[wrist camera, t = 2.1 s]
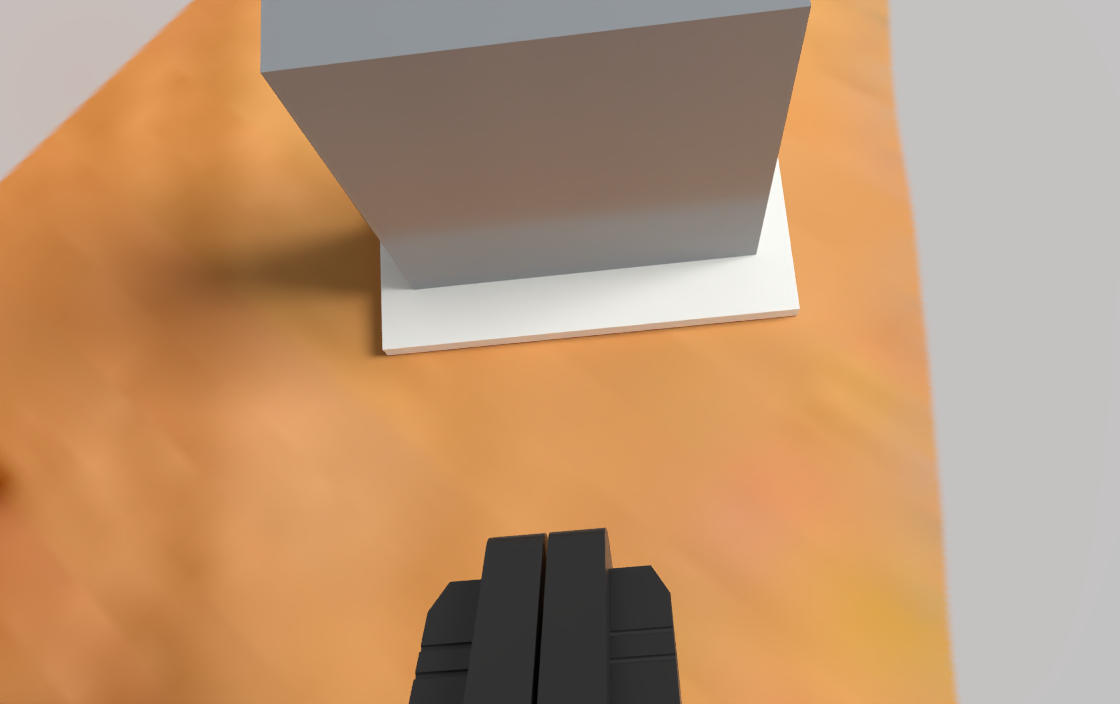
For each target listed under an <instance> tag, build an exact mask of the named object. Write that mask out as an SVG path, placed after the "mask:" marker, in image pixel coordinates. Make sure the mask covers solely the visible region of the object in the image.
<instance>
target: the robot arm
mask: <svg viewBox="0 0 1120 704" xmlns="http://www.w3.org/2000/svg"><path fill="white" fill-rule="evenodd" d="M415 674H416V679H415V680H414V681H413V686H412V691H411V696H410V700H409V704H682V702H681V691H680V680H679V671H678V661H677V652H676V642H675V633H674V624H673V614H672V605H671V595H670V592H669V590H668V589H667V588H666V586H665V585H664V583H663V582H662V581H661V579H660V578H659V576H658V575H657V574H656V572H655V571H654V569H653V568H652V566H651V565H650V566H637V567H625V568H613V567H612V560H611V553H610V545H609V539H608V533H607V529H606V528H597V529H585V530H574V531H562V532H550V533H549V537H547V535H546V533H541V534H529V535H518V536H506V537H494V538H489V539H488V541H487V545H486V552H485V558H484V565H483V572H482V579H481V580H469V581H456V582H450V583H449V584H448V585H447V587H446V588H445V590H444V591H443V592H442V594H441V595H440V596H439V598H438V599H437V600H436V602H435V603H434V604H433V606H432V607H431V609H430V610H429V611H428V614H427V618H426V623H425V628H424V633H423V638H422V643H421V652H419V657H418V662H417V667H416V671H415Z"/></svg>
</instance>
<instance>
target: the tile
mask: <svg viewBox="0 0 1120 704" xmlns="http://www.w3.org/2000/svg"><path fill="white" fill-rule="evenodd" d="M810 8H811V3H810V0H261V68H260V73H261V74H262V75H263V77H264V78H265V80H266V81H267V82H268V84H269V85H270V87H271V88H272V90H273V91H274V92H275V94H276V95H277V97H278V98H279V99H280V101H281V102H282V104H283V105H284V106H285V108H286V109H287V111H288V112H289V113H290V115H291V116H292V118H293V119H294V121H295V122H296V123H297V125H298V126H299V128H300V129H301V130H302V132H303V133H304V135H305V136H306V137H307V139H308V140H309V142H310V143H311V145H312V146H313V147H314V149H315V150H316V152H317V153H318V154H319V156H320V157H321V159H322V160H323V161H324V163H325V164H326V166H327V167H328V169H329V170H330V171H331V173H332V174H333V176H334V177H335V178H336V180H337V181H338V183H339V184H340V185H341V187H342V188H343V190H344V191H345V193H346V194H347V195H348V197H349V198H350V200H351V201H352V202H353V204H354V205H355V207H356V208H357V209H358V211H359V212H360V214H361V215H362V216H363V218H364V219H365V221H366V222H367V224H368V225H369V226H370V228H371V229H372V231H373V232H374V233H375V235H376V236H377V238H378V239H379V240H380V242H381V243H382V245H383V246H384V248H385V249H386V250H387V252H388V253H389V255H390V256H391V257H392V259H393V260H394V262H395V263H396V264H397V266H398V267H399V269H400V270H401V272H402V273H403V274H404V276H405V277H406V279H407V280H408V281H409V283H410V284H411V286H412V287H413V288H414V290H417V289H427V288H437V287H446V286H456V285H466V284H476V283H485V282H495V281H505V280H514V279H524V278H534V277H544V276H553V275H563V274H573V273H583V272H592V271H602V270H612V269H622V268H631V267H641V266H651V265H660V264H670V263H680V262H690V261H699V260H709V259H719V258H729V257H738V256H748V255H756V253H757V249H758V244H759V240H760V235H761V231H762V226H763V222H764V217H765V212H766V208H767V203H768V199H769V194H770V190H771V185H772V181H773V176H774V172H775V167H776V163H777V158H778V153H779V149H780V144H781V140H782V135H783V131H784V126H785V122H786V117H787V113H788V108H789V104H790V99H791V94H792V90H793V85H794V81H795V76H796V72H797V67H798V63H799V58H800V54H801V49H802V45H803V40H804V36H805V31H806V26H807V22H808V17H809V13H810Z"/></svg>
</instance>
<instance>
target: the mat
mask: <svg viewBox="0 0 1120 704" xmlns="http://www.w3.org/2000/svg"><path fill="white" fill-rule="evenodd" d="M380 262H381V305H382V348H383V351H384V352H385V353H386V354H387V355H397V354H408V353H418V352H428V351H438V350H449V349H459V348H469V347H479V346H489V345H500V344H510V343H520V342H530V341H540V340H551V339H561V338H571V337H581V336H591V335H602V334H612V333H622V332H632V331H643V330H653V329H663V328H673V327H683V326H694V325H704V324H714V323H724V322H734V321H745V320H755V319H765V318H775V317H785V316H796V315H797V314H798V312H799V309H800V308H799V301H798V294H797V287H796V280H795V273H794V266H793V259H792V252H791V245H790V238H789V231H788V224H787V217H786V210H785V204H784V197H783V190H782V183H781V176H780V169H779V162H778V158H777V163H776V167H775V172H774V176H773V181H772V185H771V190H770V194H769V199H768V203H767V208H766V212H765V217H764V222H763V226H762V231H761V235H760V240H759V244H758V249H757V253H756V255H748V256H738V257H729V258H719V259H709V260H699V261H690V262H680V263H670V264H660V265H651V266H641V267H631V268H622V269H612V270H602V271H592V272H583V273H573V274H563V275H553V276H544V277H534V278H524V279H514V280H505V281H495V282H485V283H476V284H466V285H456V286H446V287H437V288H427V289H417V290H414V288H413V287H412V286H411V284H410V283H409V281H408V280H407V279H406V277H405V276H404V274H403V273H402V272H401V270H400V269H399V267H398V266H397V264H396V263H395V262H394V260H393V259H392V257H391V256H390V255H389V253H388V252H387V250H386V249H385V248H384V246H383V245H382V243H381V242H380Z"/></svg>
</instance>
